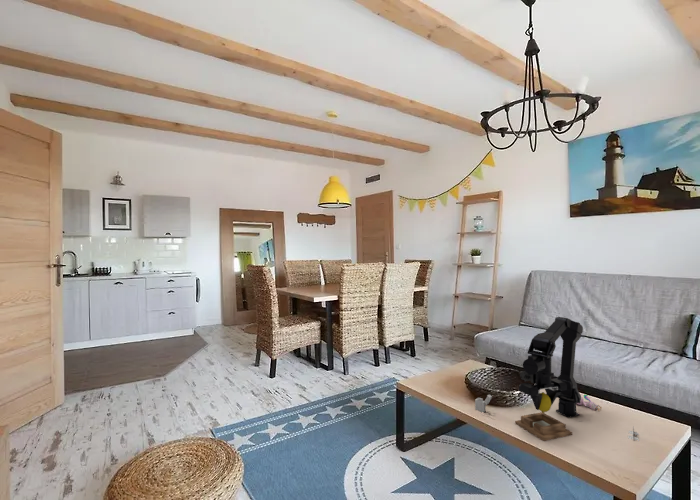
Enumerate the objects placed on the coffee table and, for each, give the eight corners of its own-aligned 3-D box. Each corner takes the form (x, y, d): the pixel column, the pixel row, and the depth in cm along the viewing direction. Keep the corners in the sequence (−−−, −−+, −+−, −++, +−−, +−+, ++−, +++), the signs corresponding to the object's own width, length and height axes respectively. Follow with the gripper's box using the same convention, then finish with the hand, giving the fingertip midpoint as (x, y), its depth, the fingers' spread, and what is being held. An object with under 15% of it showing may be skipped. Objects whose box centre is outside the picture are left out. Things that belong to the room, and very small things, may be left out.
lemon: (550, 417, 137) (550, 396, 137) (534, 413, 140) (534, 393, 140) (551, 411, 142) (551, 391, 142) (535, 408, 145) (535, 388, 145)
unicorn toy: (602, 412, 159) (565, 395, 171) (604, 399, 158) (568, 383, 170) (596, 416, 155) (560, 399, 167) (599, 403, 154) (562, 387, 166)
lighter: (474, 409, 158) (474, 391, 158) (476, 408, 159) (476, 390, 159) (490, 414, 153) (490, 396, 153) (492, 413, 154) (492, 395, 154)
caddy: (542, 418, 150) (542, 410, 150) (572, 434, 137) (572, 425, 136) (515, 423, 145) (515, 414, 145) (543, 441, 132) (543, 431, 132)
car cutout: (645, 445, 130) (645, 433, 130) (622, 439, 134) (622, 427, 134) (645, 429, 142) (645, 418, 142) (624, 424, 146) (624, 413, 146)
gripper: (544, 360, 151) (544, 397, 152) (508, 365, 146) (508, 403, 146) (568, 368, 141) (568, 408, 141) (530, 374, 135) (530, 415, 135)
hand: (543, 408), depth 141 cm, fingers closed on lemon, 5 cm apart
